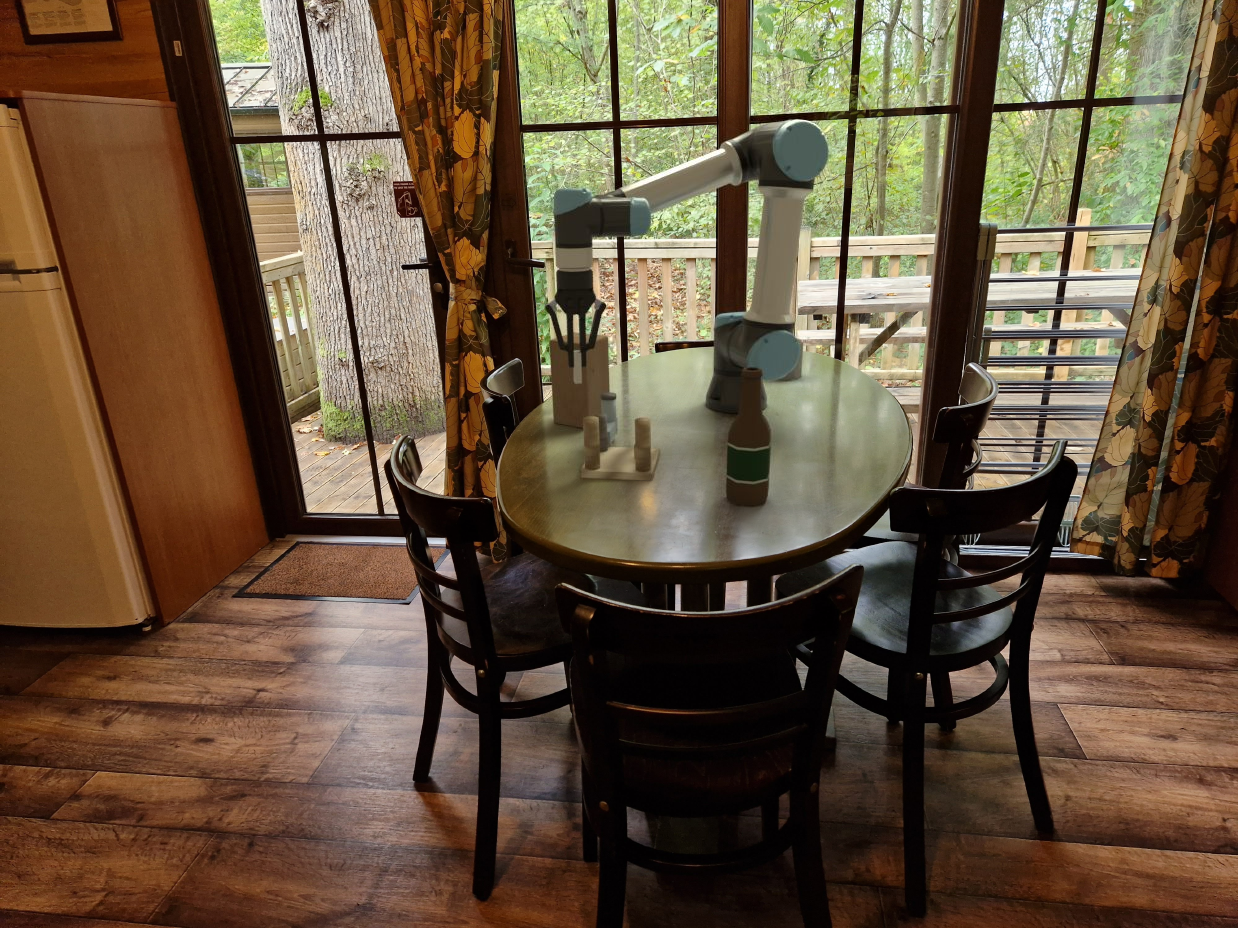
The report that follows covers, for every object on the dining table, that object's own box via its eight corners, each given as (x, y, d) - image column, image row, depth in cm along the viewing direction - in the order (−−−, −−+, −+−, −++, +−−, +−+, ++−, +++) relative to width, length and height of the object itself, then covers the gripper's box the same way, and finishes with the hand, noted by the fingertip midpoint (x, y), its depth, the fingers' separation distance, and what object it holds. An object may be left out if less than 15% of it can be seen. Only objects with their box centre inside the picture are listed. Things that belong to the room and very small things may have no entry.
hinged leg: (618, 430, 174) (617, 392, 171) (611, 445, 165) (610, 405, 162) (603, 430, 174) (602, 391, 171) (595, 444, 165) (594, 404, 162)
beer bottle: (721, 491, 145) (724, 364, 136) (762, 489, 145) (768, 362, 137) (730, 508, 138) (734, 375, 129) (774, 506, 138) (781, 373, 130)
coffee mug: (799, 371, 226) (801, 337, 223) (802, 380, 217) (805, 344, 213) (752, 371, 228) (753, 337, 224) (753, 380, 219) (755, 344, 215)
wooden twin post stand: (660, 455, 164) (659, 402, 160) (652, 480, 151) (651, 423, 147) (594, 453, 166) (592, 400, 162) (580, 477, 153) (578, 421, 149)
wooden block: (587, 429, 181) (584, 343, 174) (552, 423, 186) (548, 339, 179) (611, 418, 189) (608, 335, 181) (577, 412, 194) (573, 331, 186)
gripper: (604, 265, 163) (605, 376, 172) (541, 267, 162) (546, 378, 170) (608, 270, 157) (610, 385, 165) (543, 272, 155) (548, 387, 163)
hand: (577, 381), depth 167 cm, fingers closed
